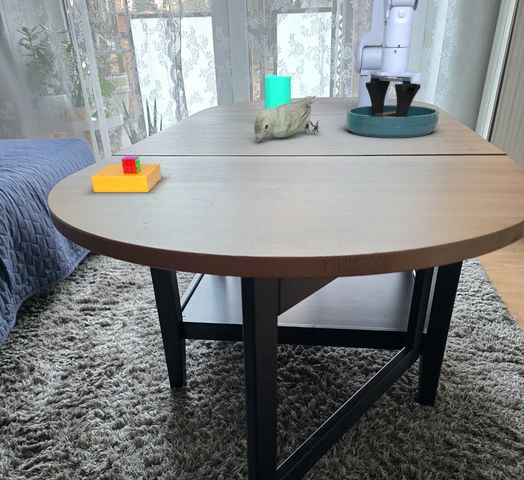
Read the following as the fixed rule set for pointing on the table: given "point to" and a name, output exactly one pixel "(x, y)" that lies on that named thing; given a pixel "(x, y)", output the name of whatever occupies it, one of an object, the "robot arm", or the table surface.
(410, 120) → the bowl
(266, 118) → the decorative bird
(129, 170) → the yellow slab
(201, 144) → the table surface
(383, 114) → the brown block
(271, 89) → the candle
